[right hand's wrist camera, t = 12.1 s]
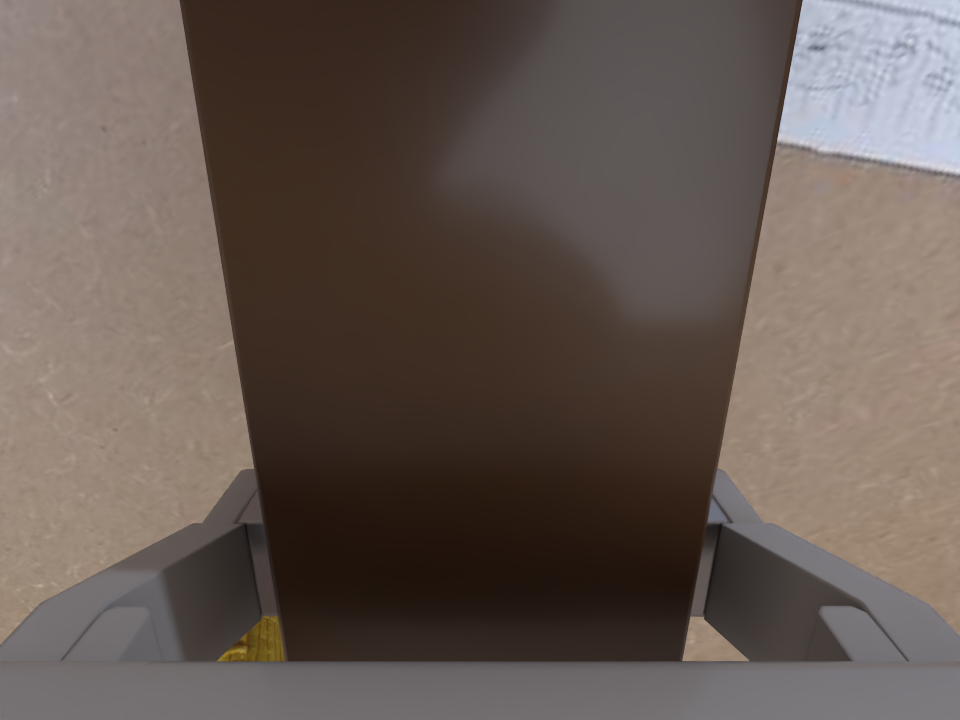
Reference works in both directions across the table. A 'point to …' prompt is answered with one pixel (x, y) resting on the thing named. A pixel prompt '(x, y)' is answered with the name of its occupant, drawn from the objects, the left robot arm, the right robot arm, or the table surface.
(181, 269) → the table surface
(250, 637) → the shrine
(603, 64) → the beam
